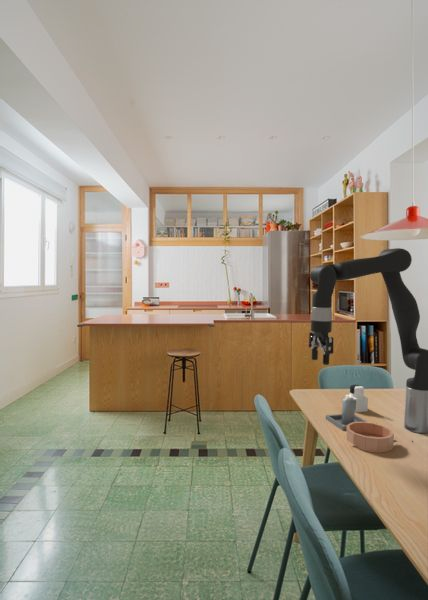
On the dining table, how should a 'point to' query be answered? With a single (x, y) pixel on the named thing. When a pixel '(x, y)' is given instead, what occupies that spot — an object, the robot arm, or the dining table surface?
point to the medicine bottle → (358, 398)
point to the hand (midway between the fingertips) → (320, 362)
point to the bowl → (370, 436)
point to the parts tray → (337, 420)
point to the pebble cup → (348, 410)
